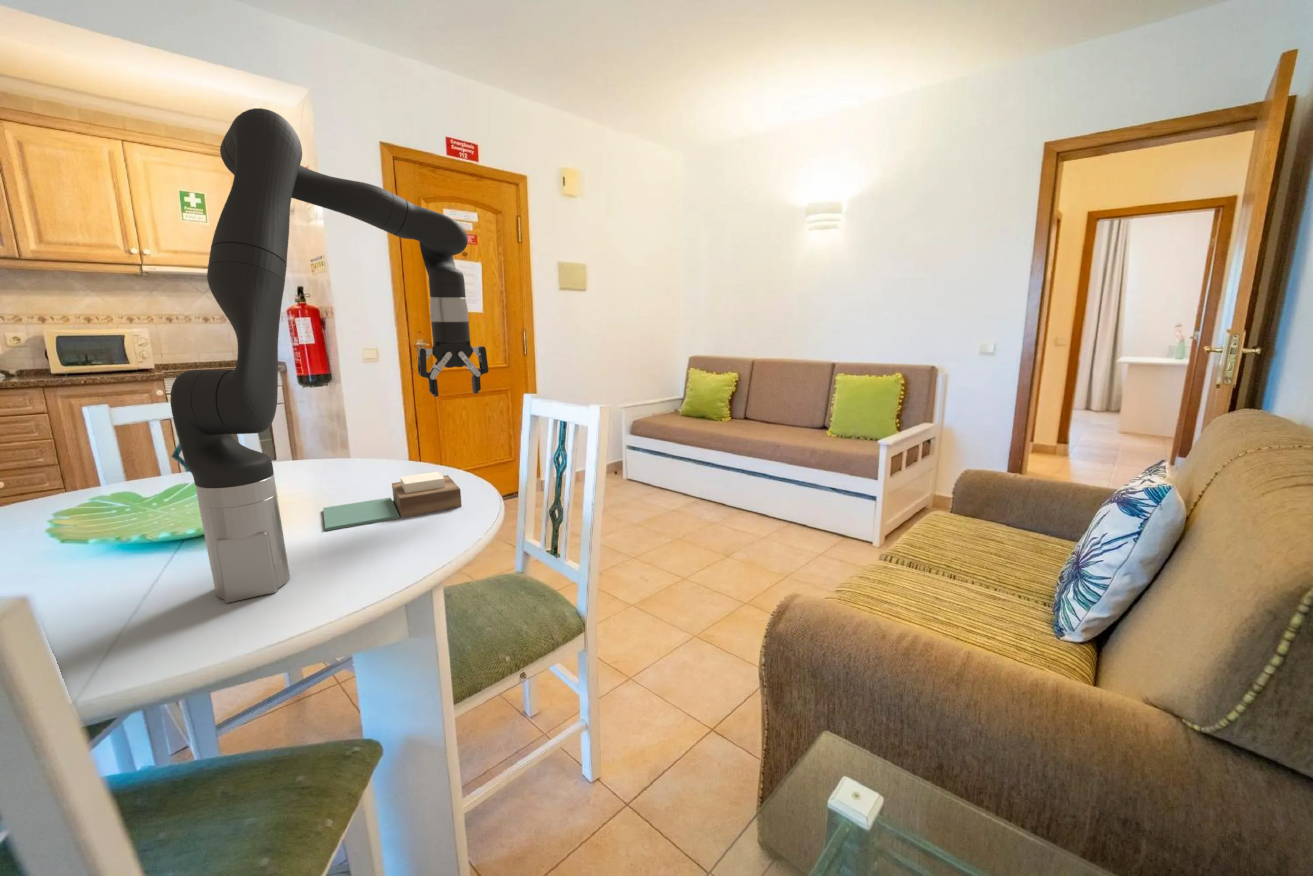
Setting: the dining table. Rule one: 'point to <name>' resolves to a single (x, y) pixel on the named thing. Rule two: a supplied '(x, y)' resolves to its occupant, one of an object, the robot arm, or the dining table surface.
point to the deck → (426, 498)
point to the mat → (359, 513)
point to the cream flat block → (422, 482)
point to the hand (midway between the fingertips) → (456, 394)
